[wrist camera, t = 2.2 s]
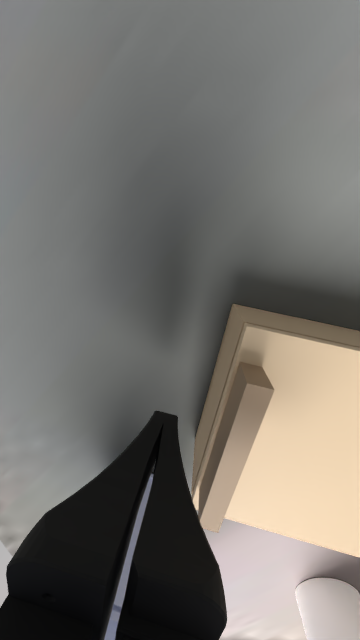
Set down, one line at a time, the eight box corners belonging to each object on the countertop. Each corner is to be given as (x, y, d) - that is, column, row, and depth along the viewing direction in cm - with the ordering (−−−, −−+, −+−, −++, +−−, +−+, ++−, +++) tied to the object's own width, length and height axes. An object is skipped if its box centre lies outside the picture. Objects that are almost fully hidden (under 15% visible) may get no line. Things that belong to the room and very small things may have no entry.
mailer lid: (419, 564, 14) (466, 631, 11) (191, 498, 15) (187, 546, 12) (578, 396, 9) (711, 443, 7) (244, 322, 11) (256, 340, 8)
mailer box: (361, 482, 19) (414, 558, 14) (195, 438, 20) (191, 494, 15) (449, 350, 14) (567, 392, 10) (232, 303, 16) (243, 321, 11)
